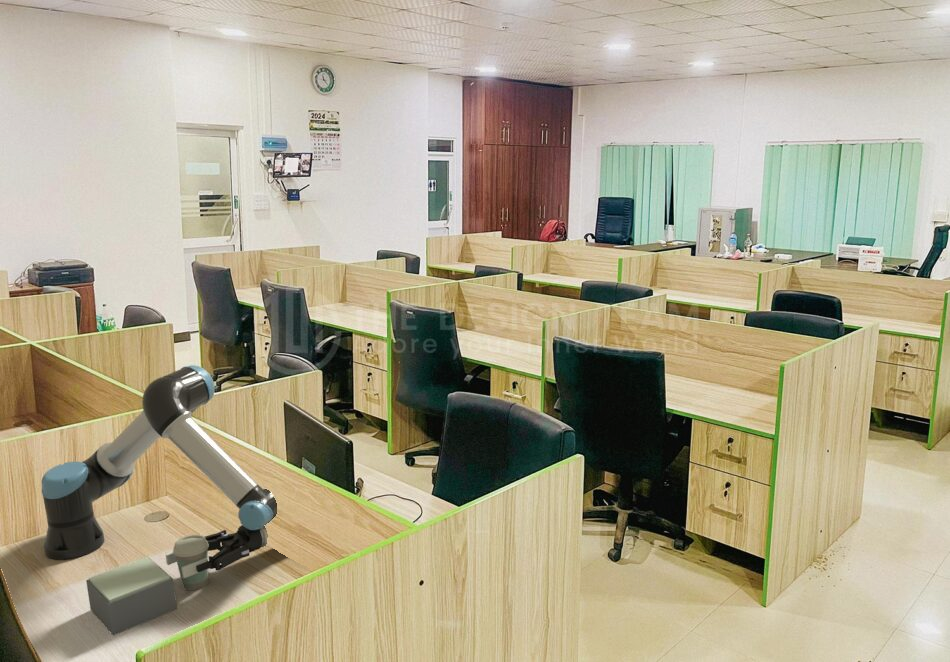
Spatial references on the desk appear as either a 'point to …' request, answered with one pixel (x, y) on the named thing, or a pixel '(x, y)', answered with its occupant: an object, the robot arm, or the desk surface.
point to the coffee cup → (191, 559)
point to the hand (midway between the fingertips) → (174, 566)
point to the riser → (131, 594)
